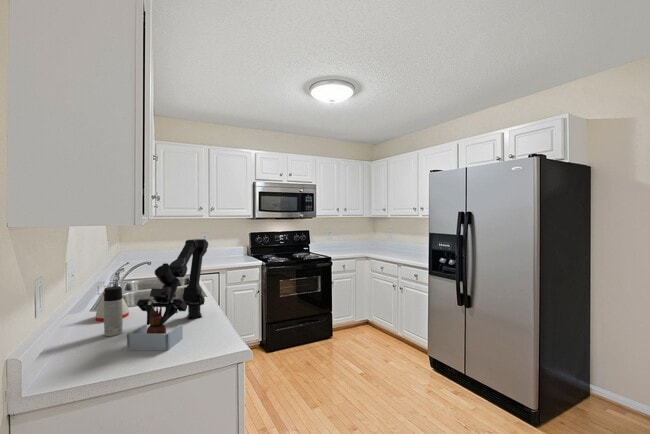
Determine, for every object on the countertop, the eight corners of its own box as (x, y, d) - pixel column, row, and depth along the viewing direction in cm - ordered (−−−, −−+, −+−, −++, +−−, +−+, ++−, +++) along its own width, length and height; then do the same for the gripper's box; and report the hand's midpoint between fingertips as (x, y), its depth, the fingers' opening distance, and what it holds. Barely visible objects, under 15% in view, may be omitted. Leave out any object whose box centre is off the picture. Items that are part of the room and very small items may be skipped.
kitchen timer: (126, 319, 158) (126, 288, 158) (92, 323, 152) (92, 292, 152) (130, 311, 171) (129, 283, 171) (99, 315, 165) (98, 286, 165)
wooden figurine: (168, 340, 130) (168, 303, 130) (161, 346, 124) (161, 308, 124) (151, 341, 130) (151, 304, 129) (144, 347, 124) (143, 308, 124)
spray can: (120, 329, 143) (119, 285, 143) (124, 333, 138) (123, 287, 138) (102, 333, 138) (101, 287, 138) (106, 338, 133) (105, 290, 133)
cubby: (144, 338, 132) (144, 324, 132) (182, 338, 131) (182, 324, 131) (127, 350, 121) (126, 334, 121) (168, 350, 120) (167, 334, 120)
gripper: (138, 279, 131) (121, 314, 120) (183, 279, 130) (169, 314, 119) (150, 293, 139) (134, 328, 128) (192, 293, 138) (180, 328, 127)
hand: (154, 324), depth 125 cm, fingers closed on wooden figurine, 5 cm apart
